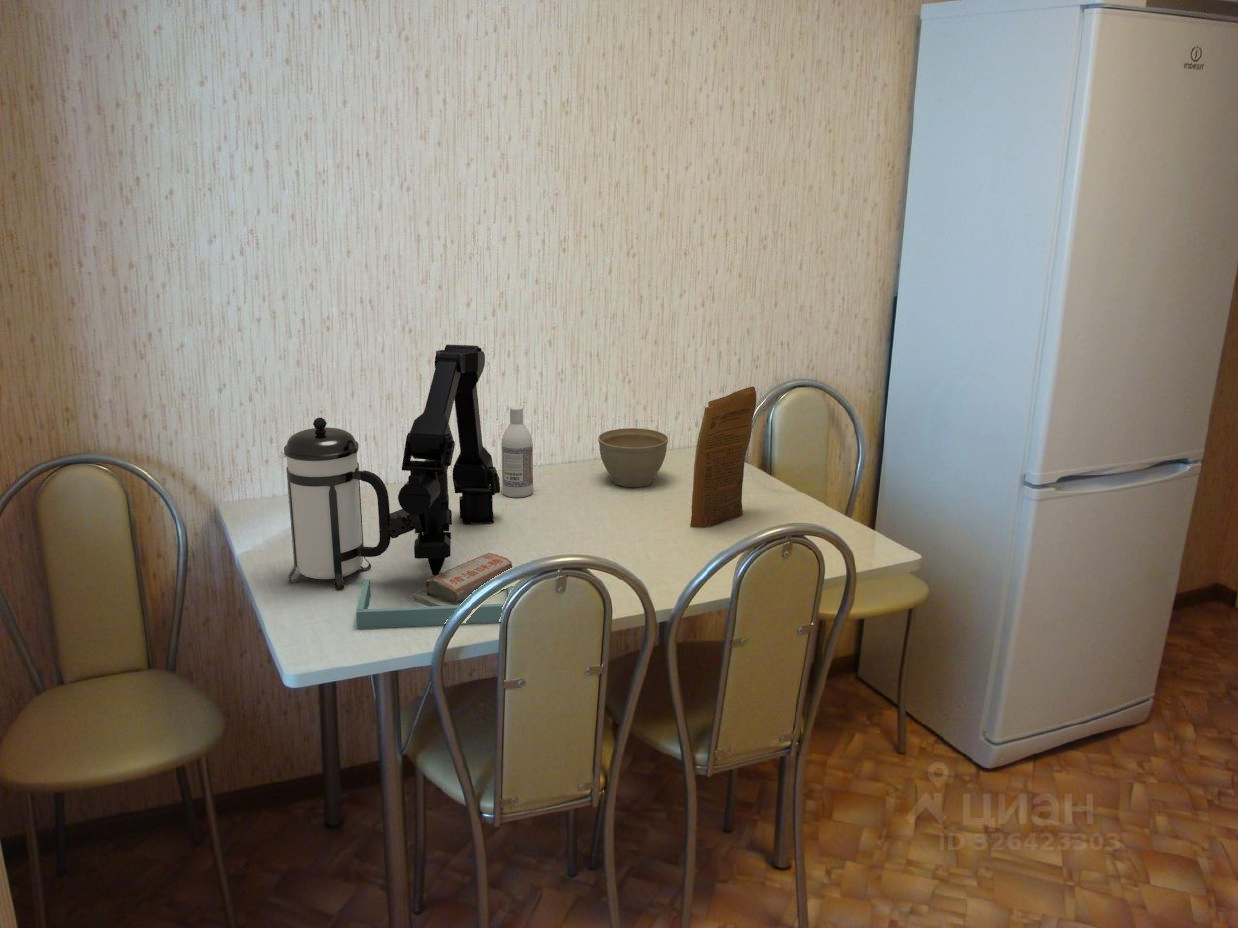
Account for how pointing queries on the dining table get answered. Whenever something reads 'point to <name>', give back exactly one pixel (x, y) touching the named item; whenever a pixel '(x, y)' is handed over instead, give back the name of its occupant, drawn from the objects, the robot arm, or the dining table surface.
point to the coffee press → (329, 504)
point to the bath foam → (517, 457)
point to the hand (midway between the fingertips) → (435, 575)
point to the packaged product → (461, 580)
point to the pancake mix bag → (722, 458)
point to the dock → (417, 613)
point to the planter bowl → (632, 455)
